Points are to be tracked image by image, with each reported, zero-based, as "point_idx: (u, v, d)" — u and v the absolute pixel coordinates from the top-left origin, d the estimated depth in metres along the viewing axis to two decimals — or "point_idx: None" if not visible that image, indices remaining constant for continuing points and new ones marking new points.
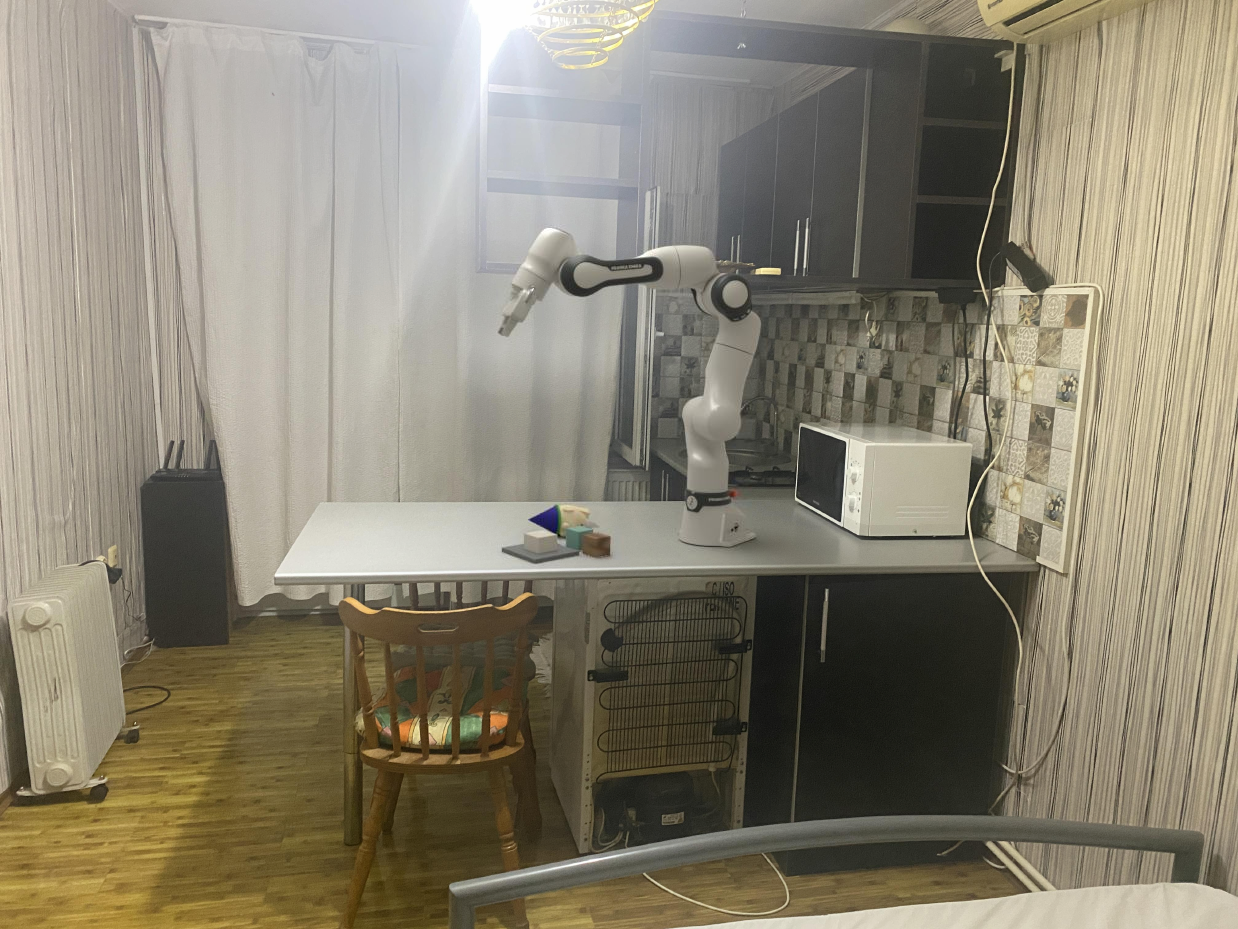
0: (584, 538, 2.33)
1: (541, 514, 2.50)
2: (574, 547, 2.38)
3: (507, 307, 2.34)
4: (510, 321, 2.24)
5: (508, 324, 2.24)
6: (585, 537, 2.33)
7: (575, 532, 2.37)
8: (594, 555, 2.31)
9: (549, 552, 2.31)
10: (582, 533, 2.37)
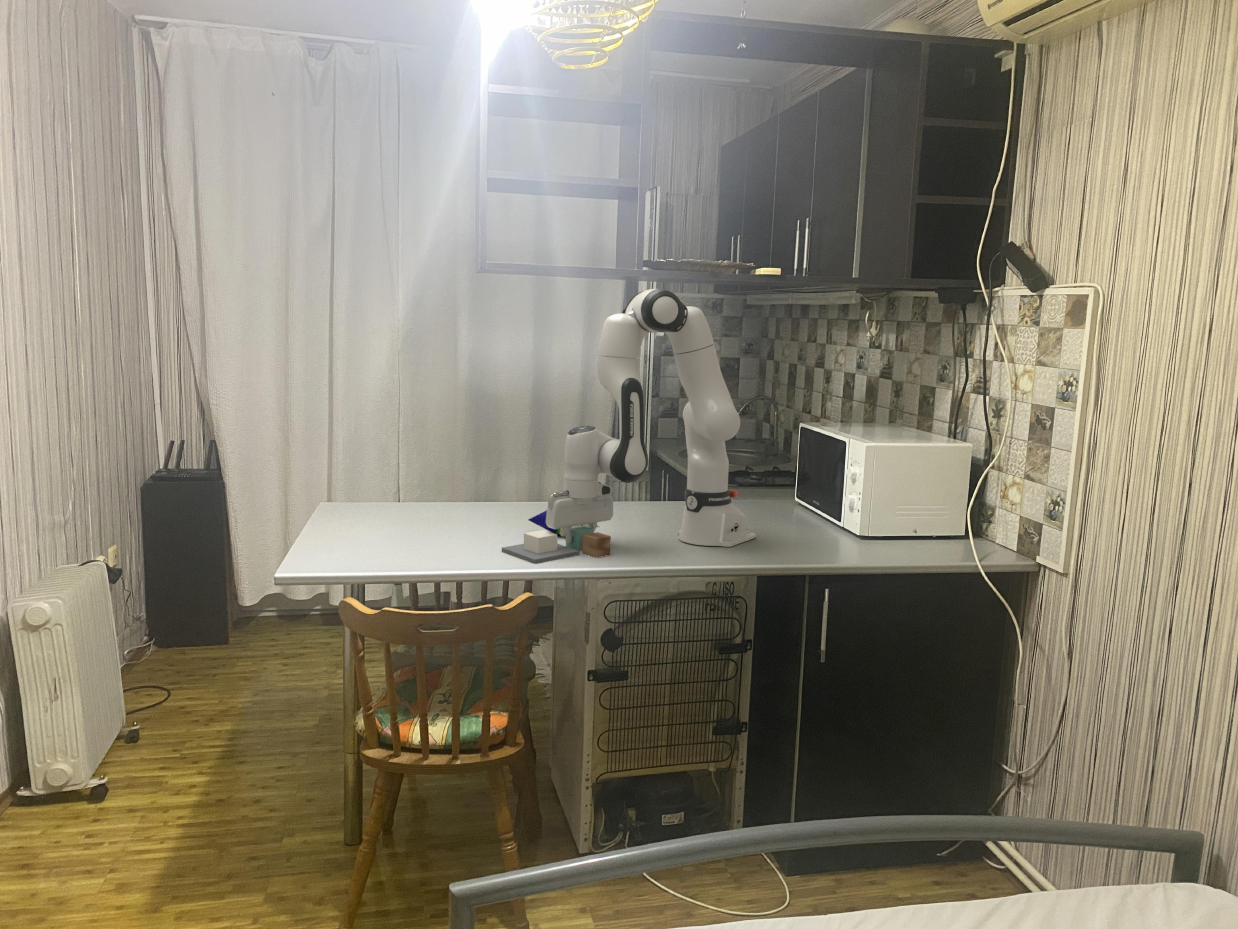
0: (584, 538, 2.33)
1: (541, 514, 2.50)
2: (574, 547, 2.38)
3: None
4: (562, 529, 2.37)
5: (564, 532, 2.37)
6: (585, 537, 2.33)
7: (575, 532, 2.37)
8: (594, 555, 2.31)
9: (549, 552, 2.31)
10: (582, 532, 2.37)
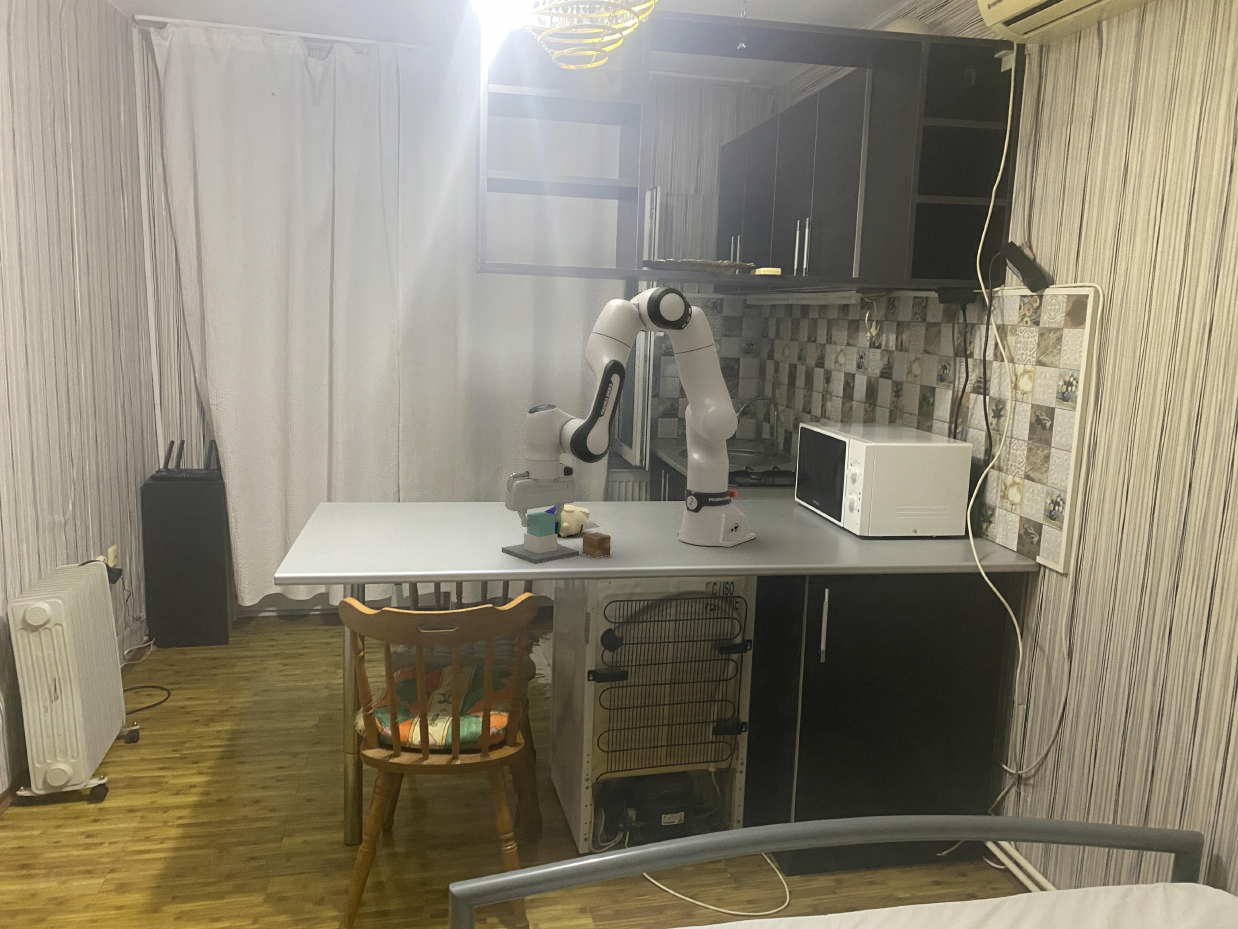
0: (584, 538, 2.33)
1: None
2: (535, 533, 2.30)
3: None
4: (518, 512, 2.28)
5: (519, 515, 2.28)
6: (585, 537, 2.33)
7: (536, 518, 2.29)
8: (594, 555, 2.31)
9: (549, 552, 2.31)
10: (543, 518, 2.29)
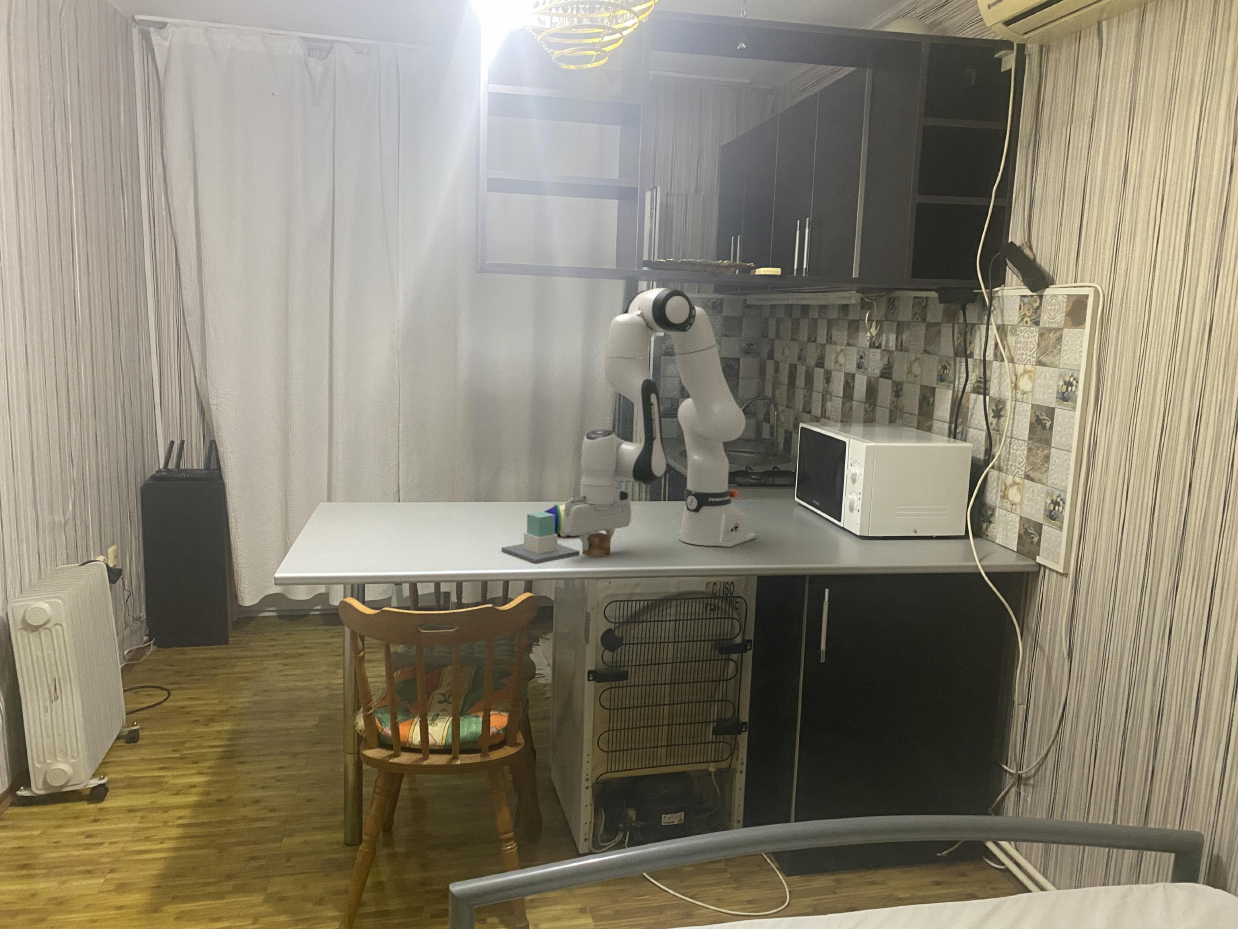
0: None
1: None
2: (535, 533, 2.30)
3: None
4: (579, 536, 2.31)
5: (580, 539, 2.31)
6: None
7: (536, 518, 2.29)
8: (594, 555, 2.31)
9: (549, 552, 2.31)
10: (543, 518, 2.29)
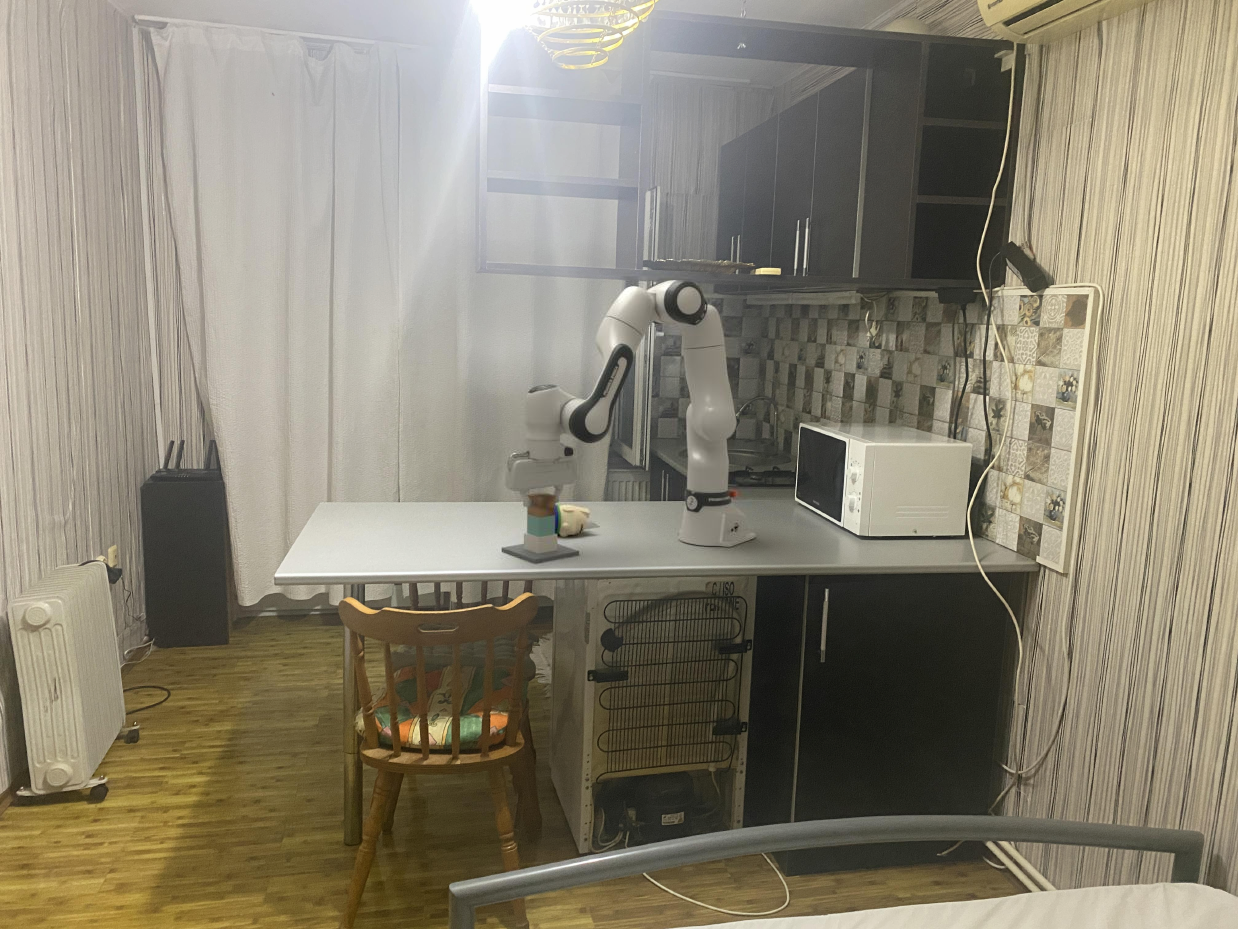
0: (529, 498, 2.31)
1: None
2: (535, 533, 2.30)
3: None
4: (520, 492, 2.27)
5: (521, 495, 2.28)
6: (529, 497, 2.31)
7: (536, 518, 2.29)
8: (538, 515, 2.29)
9: (549, 552, 2.31)
10: (543, 518, 2.29)
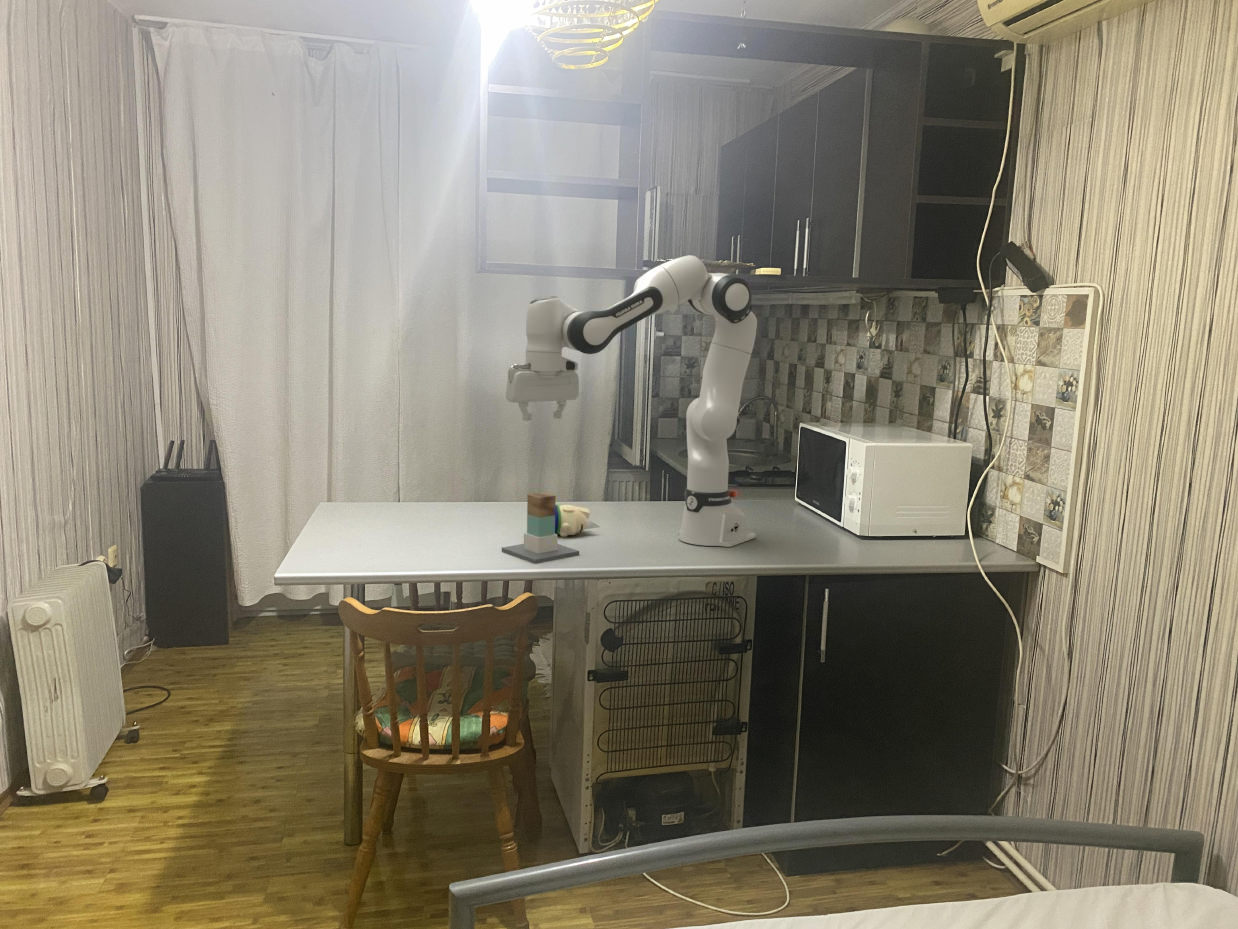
0: (529, 498, 2.31)
1: None
2: (535, 533, 2.30)
3: None
4: (519, 405, 2.23)
5: (520, 409, 2.24)
6: (529, 497, 2.31)
7: (536, 518, 2.29)
8: (538, 515, 2.29)
9: (549, 552, 2.31)
10: (543, 518, 2.29)
